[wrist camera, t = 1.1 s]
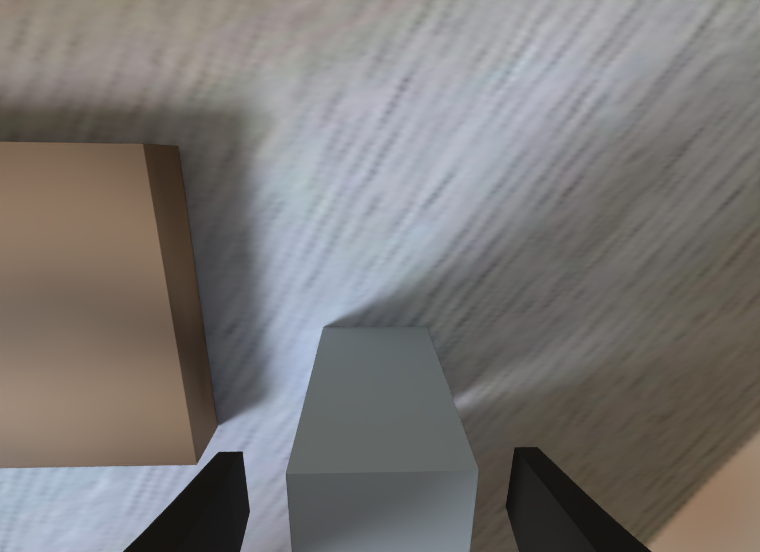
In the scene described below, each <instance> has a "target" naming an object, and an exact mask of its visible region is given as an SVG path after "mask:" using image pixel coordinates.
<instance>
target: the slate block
mask: <svg viewBox="0 0 760 552" xmlns="http://www.w3.org/2000/svg"><path fill="white" fill-rule="evenodd" d="M478 474H479V469H478V466H477V464H476V461H475V458H474V455H473V453H472V450H471V447H470V444H469V442H468V439H467V436H466V433H465V431H464V428H463V425H462V422H461V420H460V417H459V414H458V411H457V409H456V406H455V403H454V400H453V398H452V395H451V392H450V389H449V386H448V384H447V381H446V378H445V375H444V373H443V370H442V367H441V364H440V362H439V359H438V356H437V353H436V351H435V348H434V345H433V342H432V340H431V337H430V334H429V331H428V329H427V327H323V330H322V334H321V338H320V342H319V346H318V350H317V354H316V358H315V362H314V365H313V369H312V373H311V377H310V381H309V385H308V389H307V393H306V397H305V401H304V405H303V408H302V412H301V416H300V420H299V424H298V428H297V432H296V436H295V440H294V444H293V448H292V452H291V455H290V459H289V463H288V467H287V471H286V483H287V496H288V508H289V521H290V534H291V546H292V552H470V543H471V535H472V526H473V517H474V509H475V500H476V491H477V483H478Z"/></svg>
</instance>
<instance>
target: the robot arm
mask: <svg viewBox="0 0 760 552" xmlns="http://www.w3.org/2000/svg"><path fill="white" fill-rule="evenodd" d="M506 509H507V512H508V516H509V519H510V523H511V526H512V530H513V533H514V536H515V539H516V543H517V546H518V549H519V552H651V551H650V550H649V549H648V548H647V547H645V546H644V545H643V544H642V543H641V542H639V541H638V540H637V539H636V538H635V537H634V536H632V535H631V534H630V533H629V532H628V531H627V530H626V529H624V528H623V527H622V526H621V525H620V524H619V523H618V522H616V521H615V520H614V519H613V518H612V517H611V516H610V515H609V514H608V513H606V512H605V511H604V510H603V509H602V508H601V507H600V506H599V505H598V504H597V503H596V502H594V501H593V500H592V499H591V498H590V497H589V496H588V495H587V494H586V493H585V492H584V491H583V490H582V489H581V488H580V487H578V486H577V485H576V484H575V483H574V482H573V481H572V480H571V479H570V478H569V477H568V476H567V475H566V474H565V473H564V472H563V471H562V470H561V469H560V468H559V467H558V466H557V465H556V464H554V463H553V462H552V461H551V460H550V459H549V458H548V457H547V456H546V455H545V454H544V453H543V452H542V451H541V450H540V449H539V448H538V447H516V448H515V449H514V456H513V462H512V469H511V475H510V482H509V489H508V495H507V502H506ZM249 513H250V509H249V500H248V492H247V484H246V476H245V468H244V460H243V452H218V453H217V454H216V455H215V456H214V457H213V458H212V459H211V460H210V462H209V463H208V464H207V465H206V466H205V467H204V468H203V469H202V470H201V471H200V472H199V474H198V475H197V476H196V477H195V478H194V479H193V480H192V481H191V482H190V483H189V484H188V486H187V487H186V488H185V489H184V490H183V491H182V492H181V493H180V494H179V495H178V496H177V497H176V498H175V500H174V501H173V502H172V503H171V504H170V505H169V506H168V507H167V508H166V509H165V510H164V511H163V512H162V513H161V514H160V515H159V516H158V517H157V518H156V519H155V520H154V521H153V522H152V523H151V524H150V526H149V527H148V528H147V529H146V530H145V531H144V532H143V533H142V534H141V535H140V536H139V537H138V538H137V539H136V540H134V541H133V542H132V543H131V544H130V545H129V546H128V547H127V548H126V549H125V550H124V551H123V552H240V550H241V546H242V542H243V538H244V534H245V530H246V526H247V522H248V517H249Z"/></svg>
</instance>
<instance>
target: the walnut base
mask: <svg viewBox="0 0 760 552" xmlns="http://www.w3.org/2000/svg"><path fill="white" fill-rule="evenodd" d="M217 427H218V426H217V419H216V412H215V405H214V397H213V390H212V383H211V376H210V369H209V362H208V355H207V348H206V341H205V334H204V327H203V320H202V313H201V306H200V299H199V292H198V284H197V277H196V270H195V263H194V256H193V249H192V242H191V235H190V228H189V221H188V214H187V207H186V200H185V193H184V186H183V178H182V171H181V164H180V157H179V150H178V146H168V145H153V144H122V143H55V142H0V468H36V467H95V466H154V465H197V463H198V462H199V460H200V458H201V456H202V454H203V453H204V451H205V449H206V447H207V445H208V444H209V442H210V440H211V438H212V436H213V434H214V433H215V431H216V429H217Z"/></svg>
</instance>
